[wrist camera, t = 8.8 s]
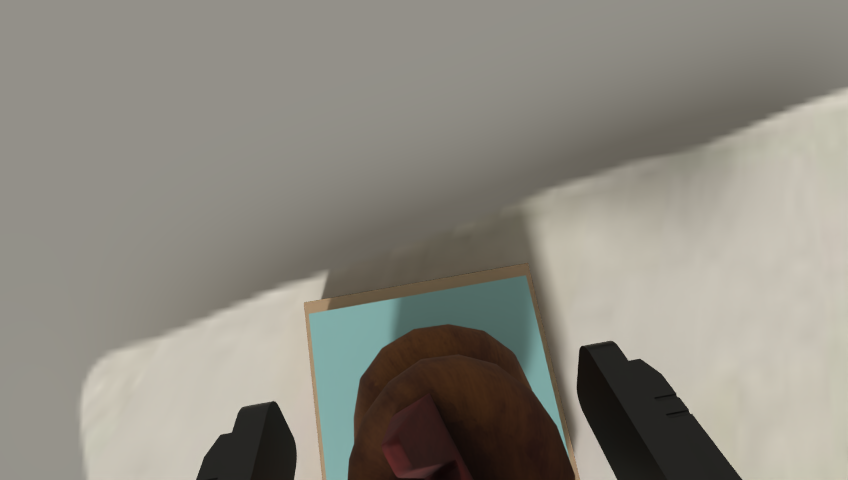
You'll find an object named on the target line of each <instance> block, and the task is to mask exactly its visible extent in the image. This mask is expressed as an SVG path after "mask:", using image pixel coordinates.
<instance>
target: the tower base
mask: <svg viewBox="0 0 848 480" xmlns="http://www.w3.org/2000/svg"><path fill="white" fill-rule="evenodd" d="M304 309H305V318H306V328H307V337H308V347H309V357H310V366H311V376H312V385H313V395H314V404H315V414H316V423H317V433H318V443H319V452H320V462H321V471H322V480H348V465H349V457H350V454H351V451H352V448H353V445H354V412H355V406H356V400H357V393H358V387H359V381H360V378H361V376H362V375H363V374H364V372H365V371H366V370H367V368H368V367H369V365H370V364H371V363H372V361H373V360H374V358H375V357H376V356H377V354H378V353H379V351H380V350H381V349H382V348H383V347H384V346H386V345H388V344H389V343H391V342H393V341H394V340H396V339H398V338H399V337H401V336H403V335H405V334H406V333H408V332H410V331H411V330H413V329H417V328H424V327H431V326H438V325H445V324H451V325H456V326H462V327H467V328H473V329H478V330H483V331H485V332H487V333H488V334H489V335H491V336H492V337H494V338H495V339H496V340H498V341H499V342H500V343H502V344H503V345H504V346H506V347H507V348H509V349H510V350H511V351H512V352H513V353H514V354H515V355H516V357H517V359H518V361H519V363H520V365H521V367H522V370H523V372H524V374H525V376H526V378H527V380H528V382H529V384H530V386H531V388H532V391H533V392H534V394H535V395H536V396H537V398H538V399H539V401H540V402H541V404H542V405H543V407H544V408H545V409H546V411H547V412H548V414H549V415H550V417H551V418H552V420H553V421H554V422H555V424H556V425H557V427H558V430H559V433H560V435H561V438H562V441H563V444H564V446H565V449H566V452H567V454H568V457H569V460H570V463H571V465H572V468H573V471H574V474H575V480H580V478H579V474H578V469H577V465H576V461H575V457H574V453H573V449H572V444H571V440H570V436H569V432H568V428H567V424H566V419H565V415H564V411H563V407H562V403H561V399H560V395H559V390H558V386H557V382H556V378H555V374H554V370H553V365H552V361H551V357H550V353H549V349H548V345H547V340H546V336H545V332H544V328H543V324H542V320H541V316H540V311H539V307H538V303H537V299H536V295H535V291H534V286H533V282H532V278H531V274H530V270H529V266H528V263H525V264H519V265H514V266H508V267H502V268H497V269H491V270H485V271H480V272H474V273H468V274H463V275H457V276H451V277H446V278H440V279H435V280H429V281H423V282H418V283H412V284H406V285H401V286H395V287H389V288H384V289H378V290H372V291H367V292H361V293H355V294H350V295H344V296H338V297H333V298H327V299H322V300H316V301H310V302H305V303H304Z"/></svg>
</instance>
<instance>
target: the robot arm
mask: <svg viewBox="0 0 848 480" xmlns="http://www.w3.org/2000/svg"><path fill="white" fill-rule="evenodd" d="M577 394H578V399H579V402H580V405H581V408H582V411H583V413H584V415H585V417H586V419H587V421H588V423H589V425H590V427H591V429H592V431H593V433H594V435H595V437H596V439H597V440H598V442H599V444H600V446H601V448H602V450H603V452H604V454H605V456H606V458H607V460H608V462H609V464H610V466H611V468H612V470H613V472H614V474H615V476H616V478H617V480H742V479H741V478H740V476H739V475H738V474H737V472H736V471H735V470H734V468H733V467H732V466H731V465H730V463H729V462H728V461H727V459H726V458H725V457H724V455H723V454H722V453H721V451H720V450H719V449H718V448H717V446H716V445H715V444H714V442H713V441H712V440H711V438H710V437H709V436H708V434H707V433H706V432H705V430H704V429H703V428H702V427H701V425H700V424H699V423H698V421H697V420H696V419H695V417H694V416H693V415H692V414H690V413H689V410H688V408H687V407H686V406H685V404H684V403H683V402H682V400H681V399H680V398H679V397H677V396H676V393H675V391H674V390H673V389H672V387H671V386H670V385H669V383H668V382H667V381H666V379H665V378H664V377H663V375H662V374H661V373H659V372H658V371H657V370H655V369H654V368H652V367H651V366H650V365H648V364H647V363H645V362H644V361H643V360H641V359H636V360H631V361H628V360H627V358H626V357H625V355H624V354H623V353H622V351H621V350H620V348H619V347H618V346H617V344H616V343H614V342H613V341H607V342H602V343H596V344H591V345H585V346H581V347H580V350H579V362H578V376H577ZM296 460H297V453H296V444H295V440H294V437H293V435H292V433H291V431H290V429H289V427H288V425H287V423H286V421H285V419H284V416H283V414H282V412H281V410H280V408H279V406H278V404H277V403H276V402H274V401H272V402H267V403H262V404H256V405H251V406H245V407H242V408H241V409H240V411H239V413H238V415H237V418H236V421H235V425H234V428H233V431H232V433H228V434H222V435H220V436H219V438H218V439H217V440H216V442H215V443H214V444H213V446H212V447H211V449H210V450H209V451H208V453H207V454H206V456H205V457H204V459H203V462H202V465H201V468H200V471H199V473H198V476H197V479H196V480H294V476H295V469H296Z"/></svg>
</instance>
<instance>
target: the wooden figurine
mask: <svg viewBox="0 0 848 480" xmlns="http://www.w3.org/2000/svg"><path fill="white" fill-rule="evenodd" d="M348 480H575V474H574V471H573V468H572V465H571V463H570V460H569V457H568V454H567V452H566V449H565V446H564V444H563V441H562V438H561V435H560V433H559V430H558V427H557V425H556V424H555V422H554V421H553V420H552V418H551V417H550V415H549V414H548V412H547V411H546V409H545V408H544V407H543V405H542V404H541V402H540V401H539V399H538V398H537V396H536V395H535V394H534V392H533V391H532V388H531V386H530V384H529V382H528V380H527V378H526V376H525V374H524V372H523V370H522V367H521V365H520V363H519V361H518V359H517V357H516V355H515V354H514V353H513V352H512V351H511V350H510V349H509V348H507V347H506V346H504V345H503V344H502V343H500V342H499V341H498V340H496V339H495V338H494V337H492V336H491V335H489V334H488V333H487V332H485V331H483V330H478V329H473V328H467V327H462V326H456V325H451V324H445V325H438V326H431V327H424V328H417V329H413V330H411V331H410V332H408V333H406V334H405V335H403V336H401V337H399V338H398V339H396V340H394V341H393V342H391V343H389V344H388V345H386V346H384V347H383V348H382V349H381V350H380V351H379V353H378V354H377V356H376V357H375V358H374V360H373V361H372V363H371V364H370V365H369V367H368V368H367V370H366V371H365V372H364V374H363V375H362V376H361V378H360V381H359V387H358V393H357V400H356V406H355V412H354V445H353V448H352V451H351V454H350V457H349V465H348Z"/></svg>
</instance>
